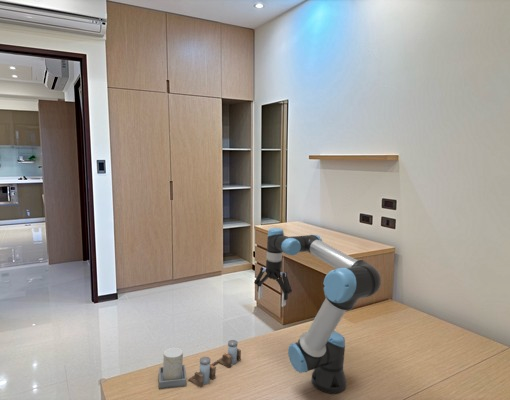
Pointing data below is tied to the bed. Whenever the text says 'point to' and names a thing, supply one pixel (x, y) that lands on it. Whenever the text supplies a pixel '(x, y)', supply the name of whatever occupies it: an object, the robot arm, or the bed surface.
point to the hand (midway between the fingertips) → (271, 302)
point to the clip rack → (214, 368)
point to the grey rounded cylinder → (205, 369)
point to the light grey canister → (172, 364)
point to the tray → (172, 382)
